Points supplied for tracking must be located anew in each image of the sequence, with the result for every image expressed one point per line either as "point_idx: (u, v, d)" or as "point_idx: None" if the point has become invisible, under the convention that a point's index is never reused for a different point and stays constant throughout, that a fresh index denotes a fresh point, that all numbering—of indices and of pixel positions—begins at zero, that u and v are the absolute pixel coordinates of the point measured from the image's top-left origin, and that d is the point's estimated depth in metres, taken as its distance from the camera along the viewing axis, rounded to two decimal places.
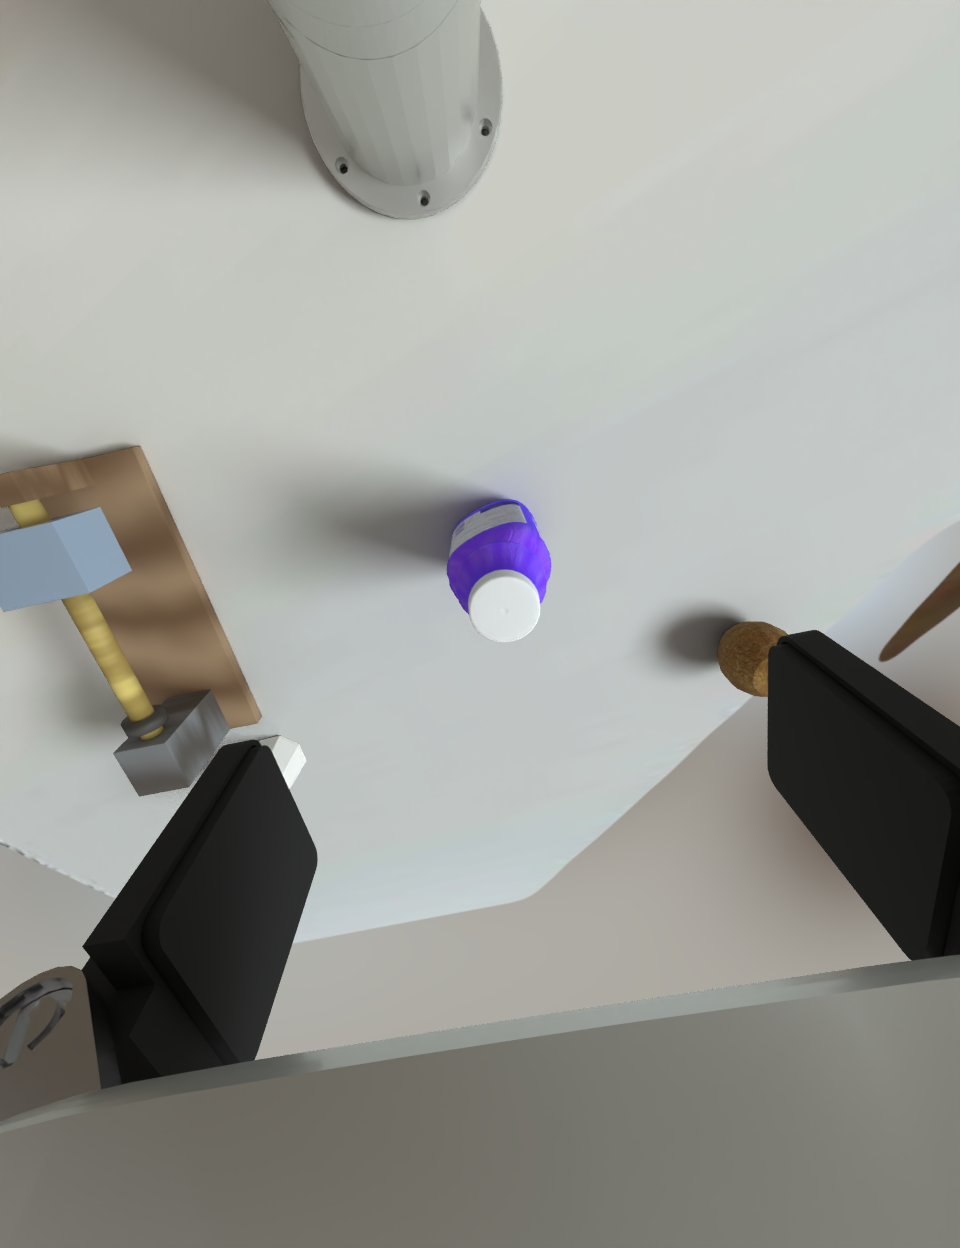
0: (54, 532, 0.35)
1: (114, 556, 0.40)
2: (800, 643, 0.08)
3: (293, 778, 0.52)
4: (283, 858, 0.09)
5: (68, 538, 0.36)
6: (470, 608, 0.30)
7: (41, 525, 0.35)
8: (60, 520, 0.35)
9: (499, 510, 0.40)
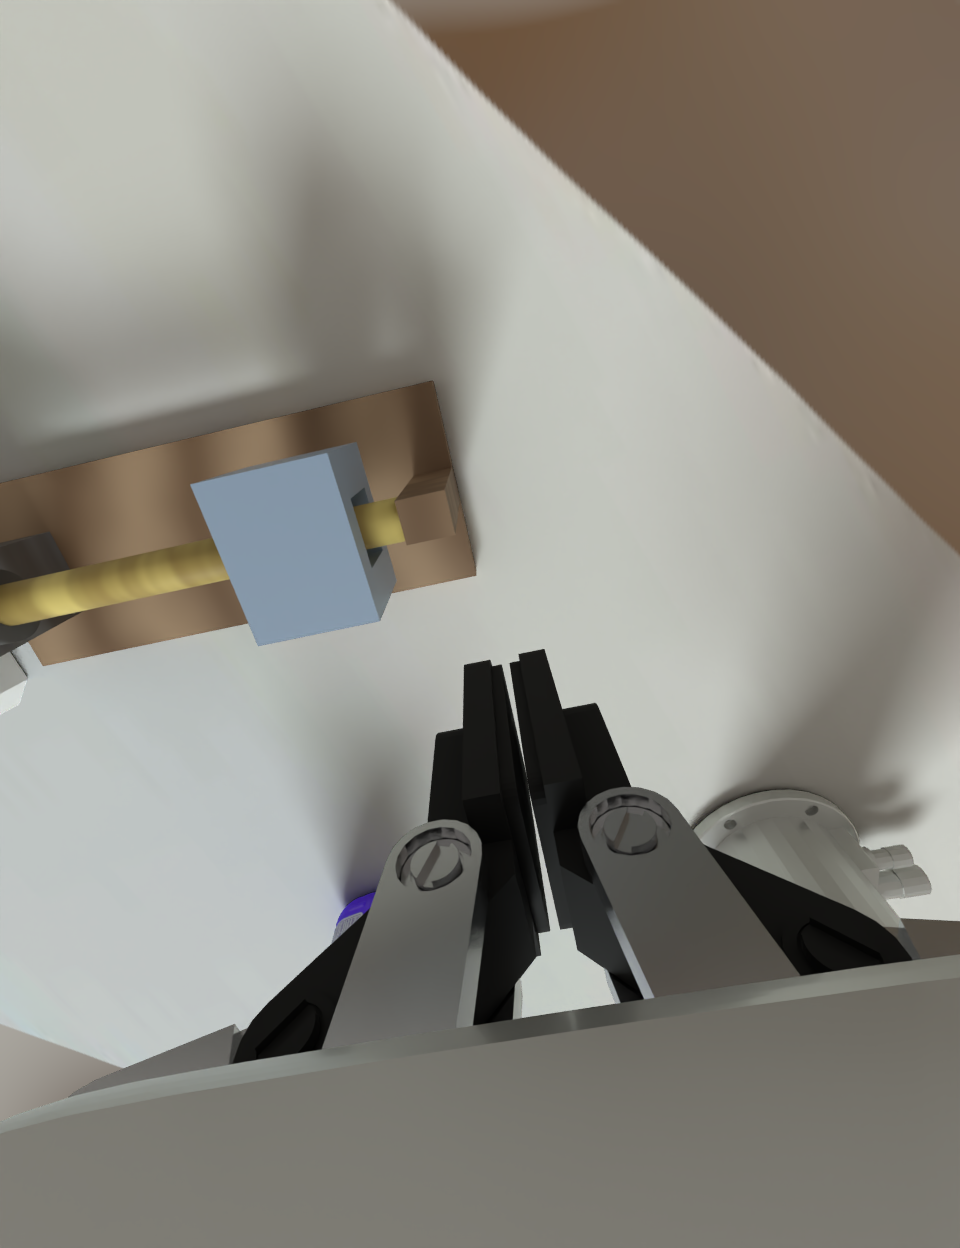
0: (362, 620, 0.21)
1: None
2: (522, 661, 0.10)
3: None
4: (522, 767, 0.10)
5: None
6: None
7: (373, 604, 0.20)
8: (381, 613, 0.21)
9: None
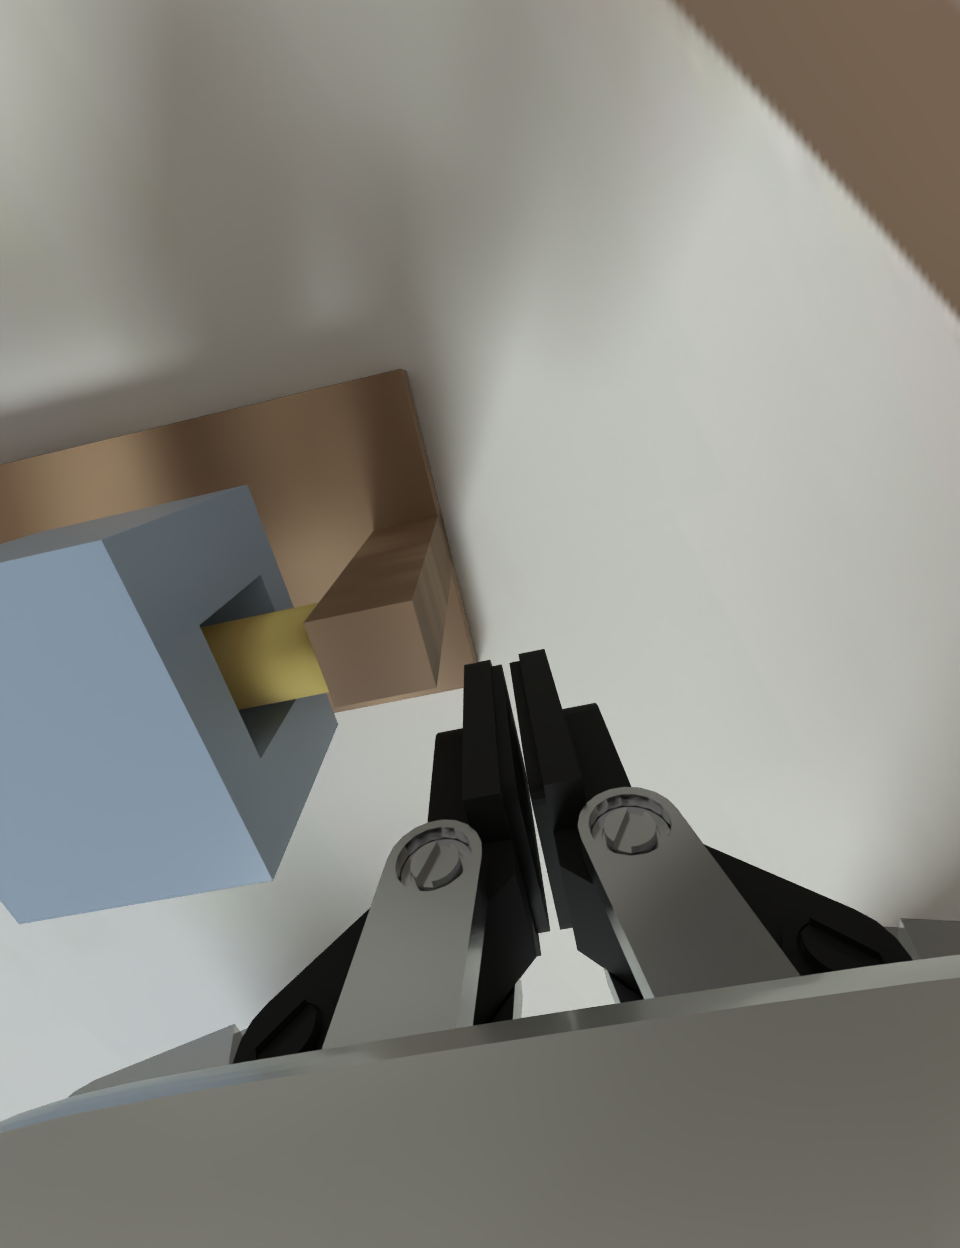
0: (235, 879, 0.10)
1: None
2: (522, 661, 0.10)
3: None
4: (522, 766, 0.10)
5: None
6: None
7: (254, 851, 0.09)
8: (283, 845, 0.10)
9: None
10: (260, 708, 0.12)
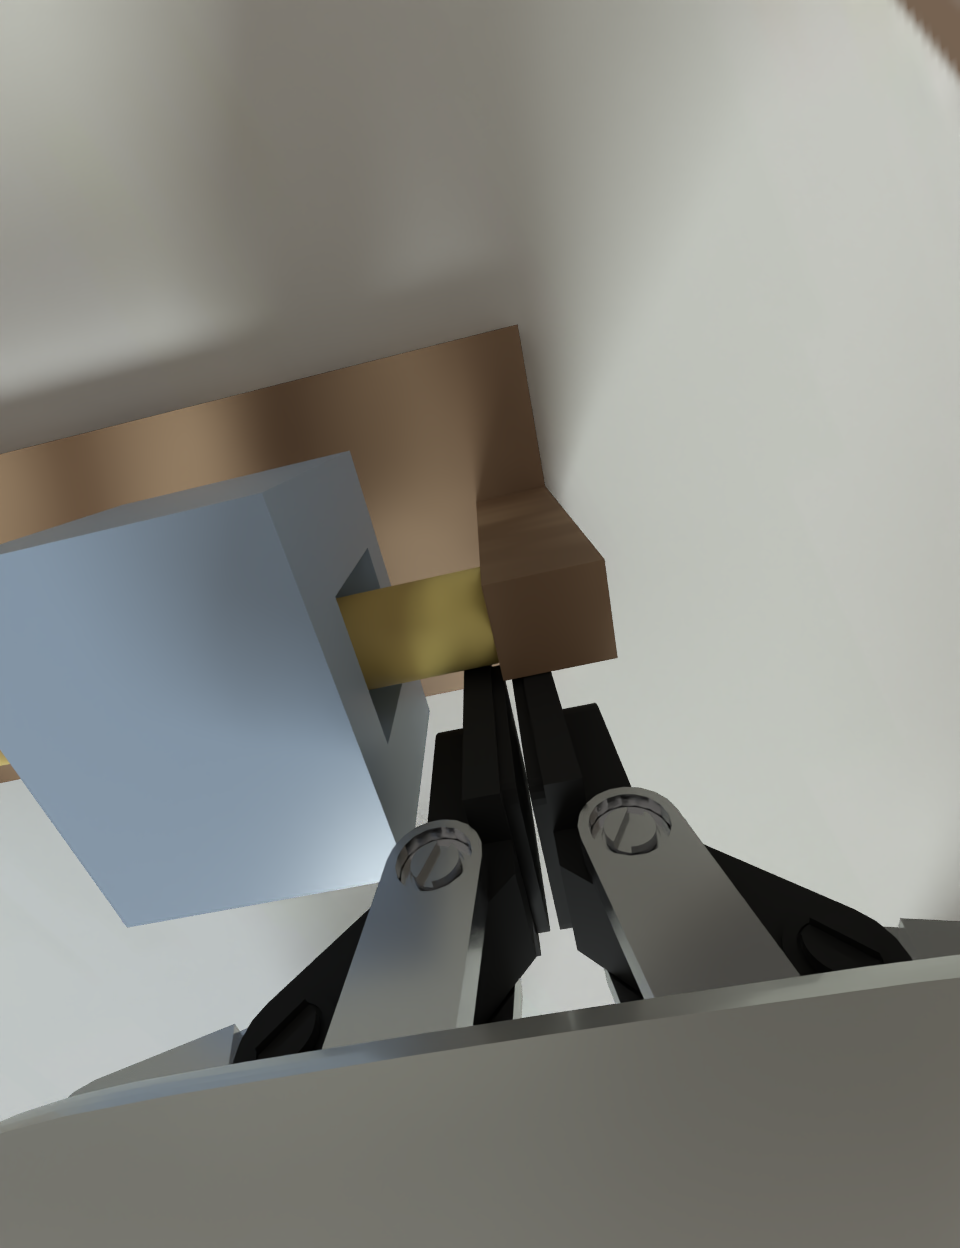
0: (368, 876, 0.09)
1: None
2: None
3: None
4: (522, 767, 0.10)
5: None
6: None
7: (392, 845, 0.08)
8: None
9: None
10: None
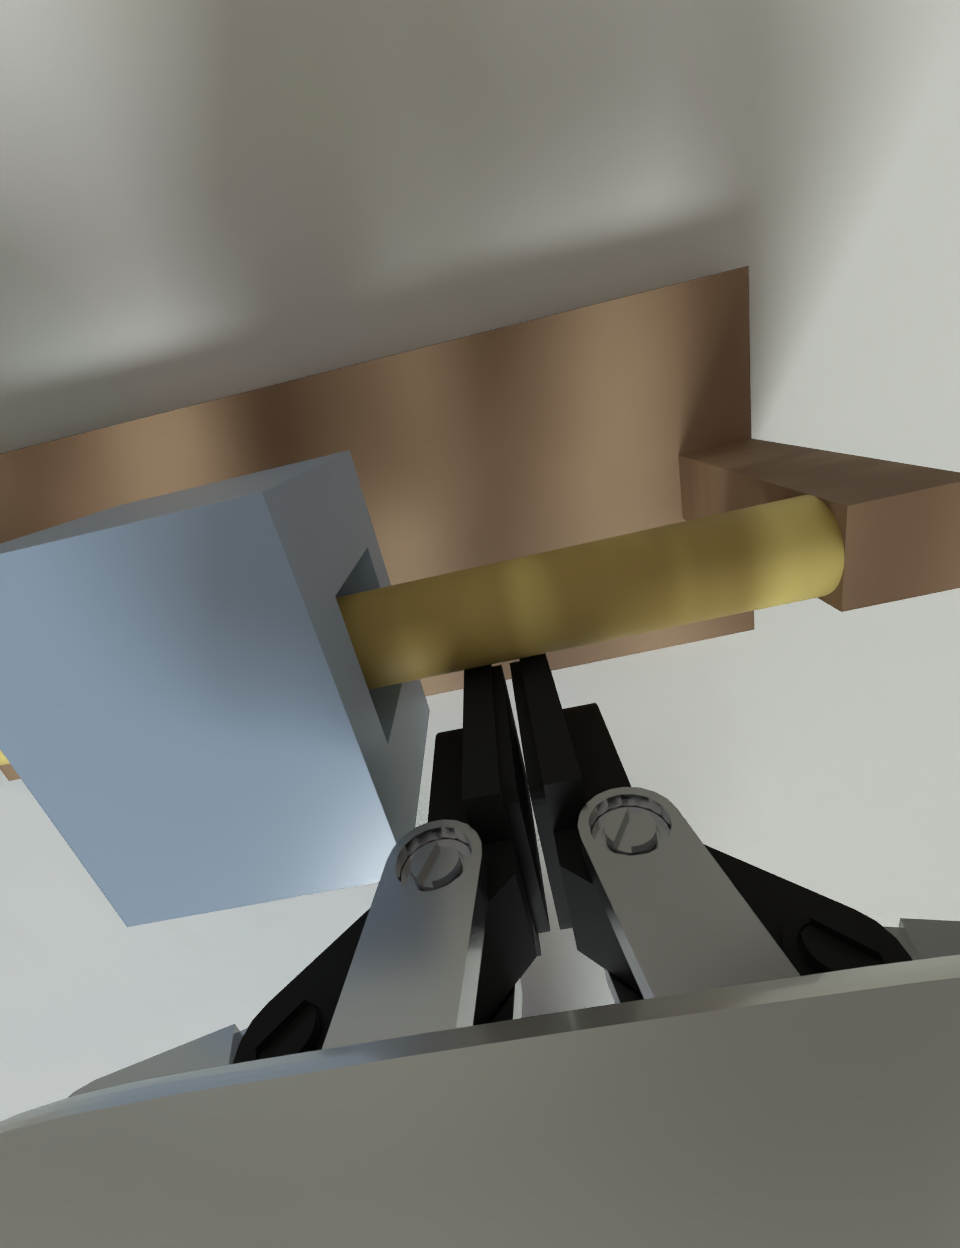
0: (368, 875, 0.09)
1: None
2: (522, 660, 0.10)
3: None
4: (522, 767, 0.10)
5: None
6: None
7: (392, 844, 0.08)
8: None
9: None
10: None
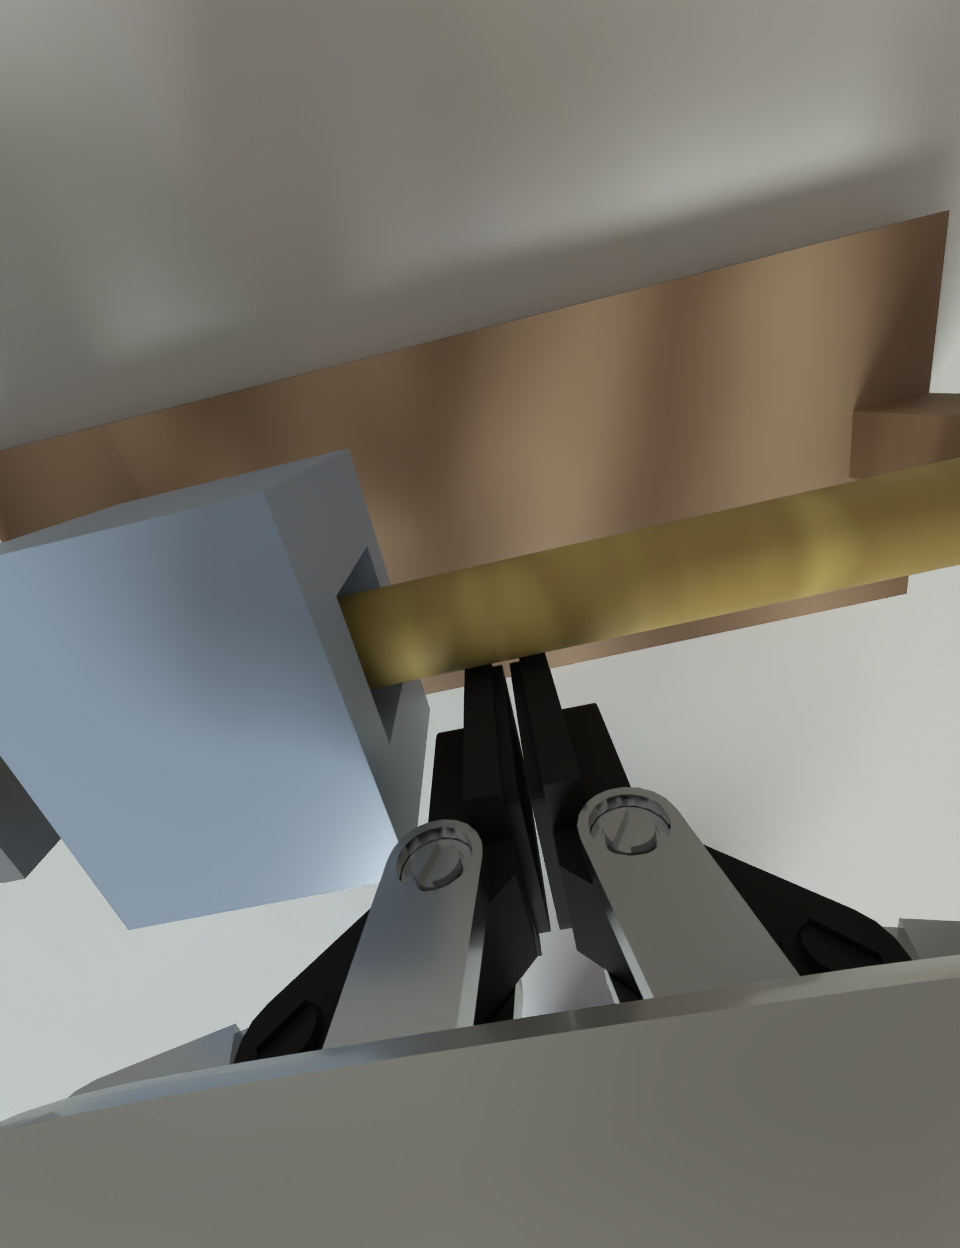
0: (371, 876, 0.09)
1: None
2: (521, 661, 0.10)
3: None
4: (522, 767, 0.10)
5: None
6: None
7: None
8: None
9: None
10: None
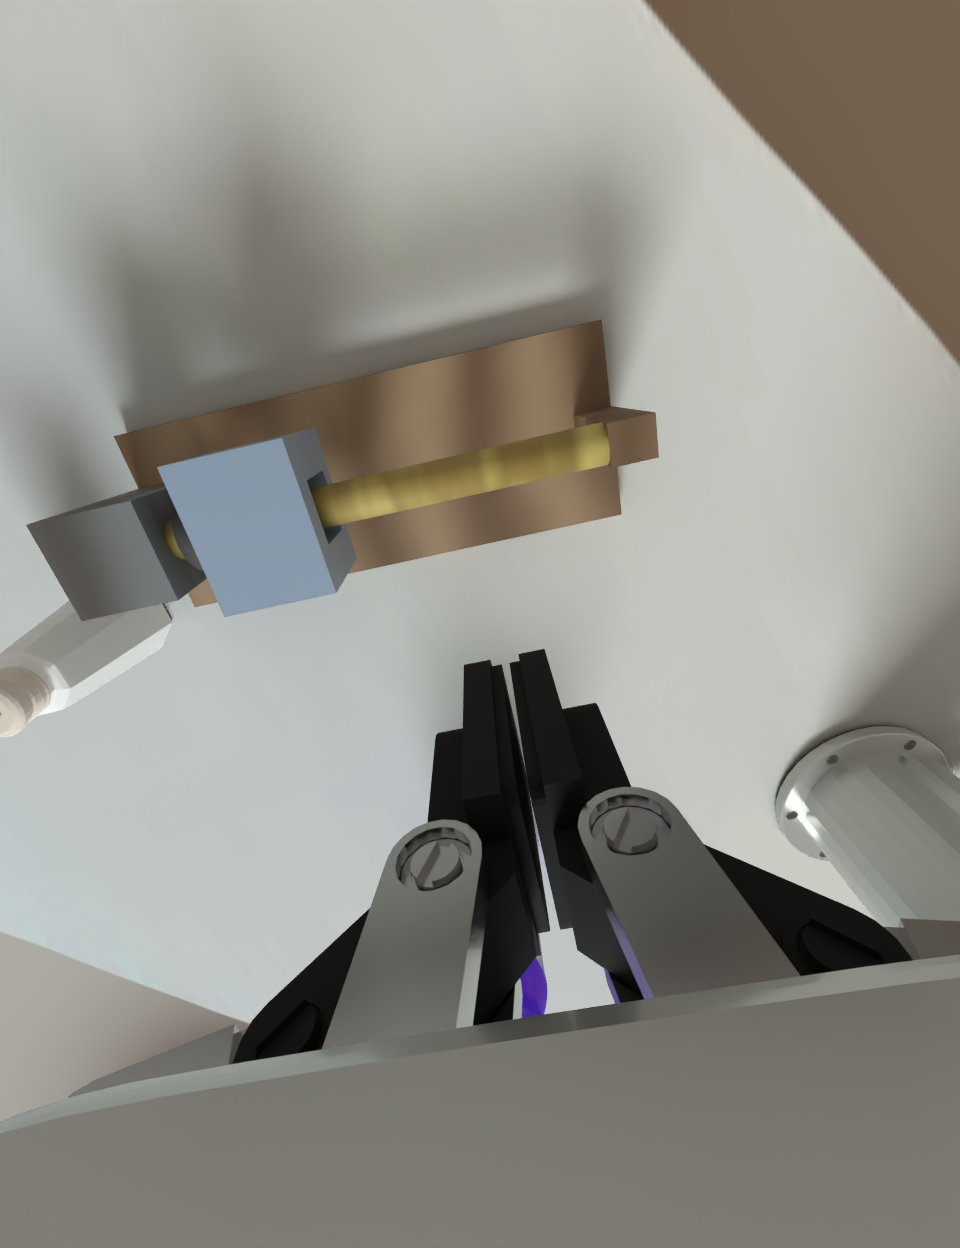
0: (320, 592, 0.23)
1: None
2: (522, 661, 0.10)
3: None
4: (522, 767, 0.10)
5: None
6: None
7: (329, 577, 0.22)
8: (338, 586, 0.23)
9: None
10: None
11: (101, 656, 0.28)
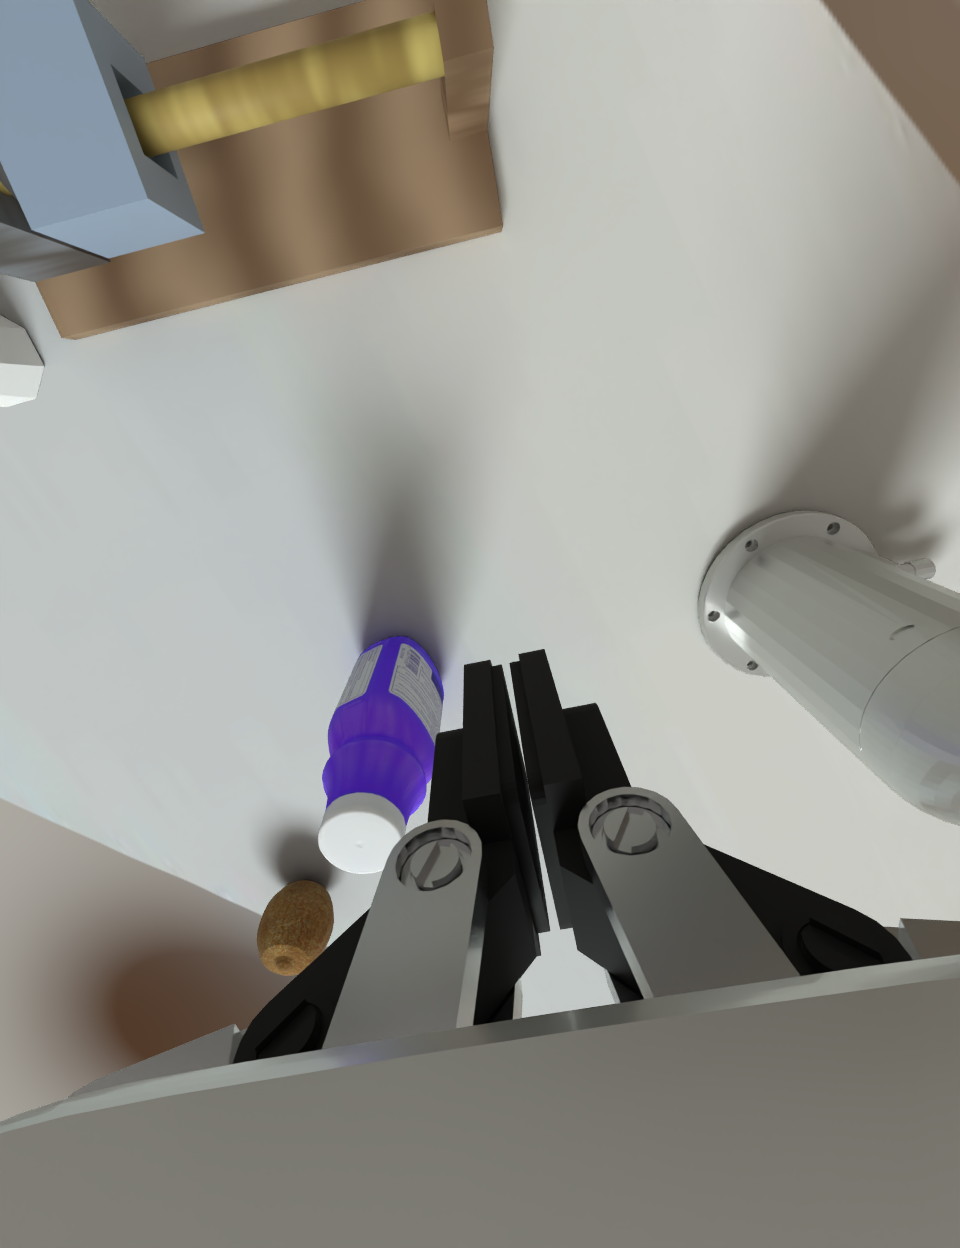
0: (130, 197, 0.21)
1: (123, 244, 0.25)
2: (522, 661, 0.10)
3: None
4: (522, 767, 0.10)
5: (127, 211, 0.22)
6: (359, 812, 0.25)
7: (138, 176, 0.21)
8: (157, 205, 0.22)
9: (438, 706, 0.37)
10: None
11: None
